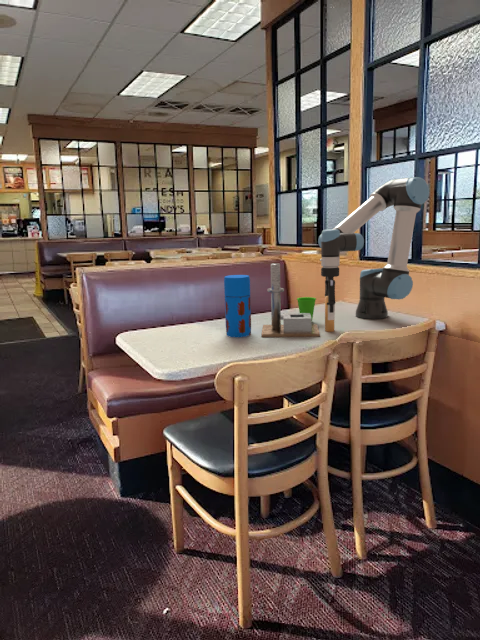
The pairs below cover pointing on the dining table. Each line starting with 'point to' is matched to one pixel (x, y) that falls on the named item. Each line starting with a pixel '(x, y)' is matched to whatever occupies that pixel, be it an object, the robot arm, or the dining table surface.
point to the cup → (306, 305)
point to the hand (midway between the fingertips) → (329, 316)
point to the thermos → (237, 305)
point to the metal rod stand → (286, 315)
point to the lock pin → (328, 323)
